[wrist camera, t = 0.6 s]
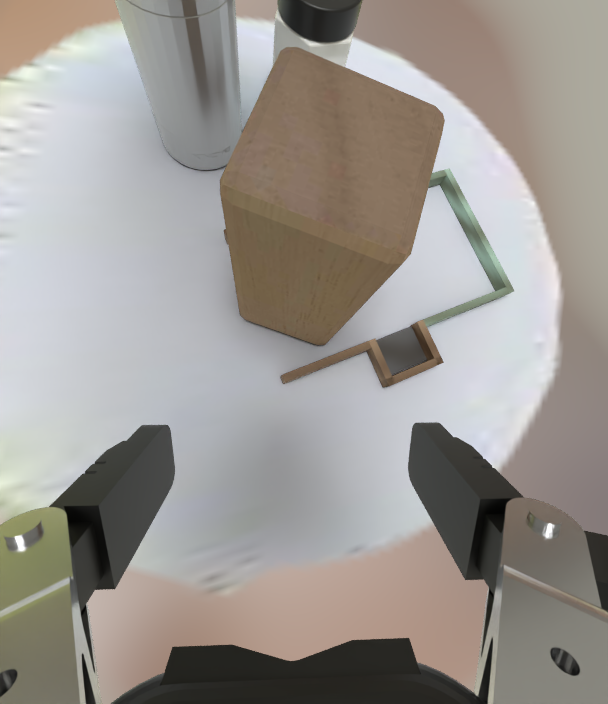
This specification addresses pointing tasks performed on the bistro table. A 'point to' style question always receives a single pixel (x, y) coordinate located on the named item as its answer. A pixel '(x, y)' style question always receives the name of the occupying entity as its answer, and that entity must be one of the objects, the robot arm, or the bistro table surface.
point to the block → (324, 193)
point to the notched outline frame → (416, 339)
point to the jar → (316, 27)
